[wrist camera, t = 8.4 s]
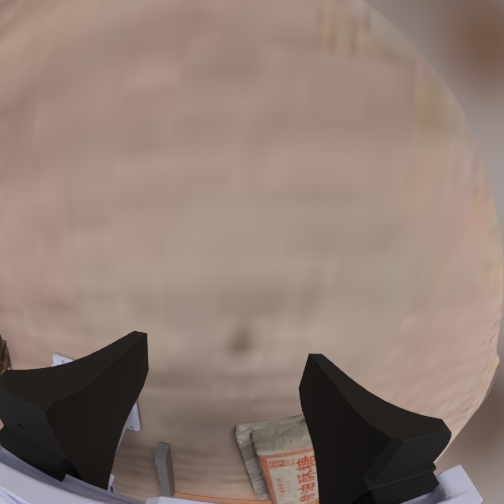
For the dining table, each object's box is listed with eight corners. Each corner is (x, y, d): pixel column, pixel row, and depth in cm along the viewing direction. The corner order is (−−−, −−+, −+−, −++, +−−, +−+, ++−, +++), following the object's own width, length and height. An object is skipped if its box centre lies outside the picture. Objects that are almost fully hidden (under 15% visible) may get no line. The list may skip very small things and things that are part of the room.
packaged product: (232, 456, 19) (343, 437, 20) (232, 420, 24) (330, 404, 24) (258, 517, 23) (332, 505, 24) (257, 492, 28) (326, 480, 28)
